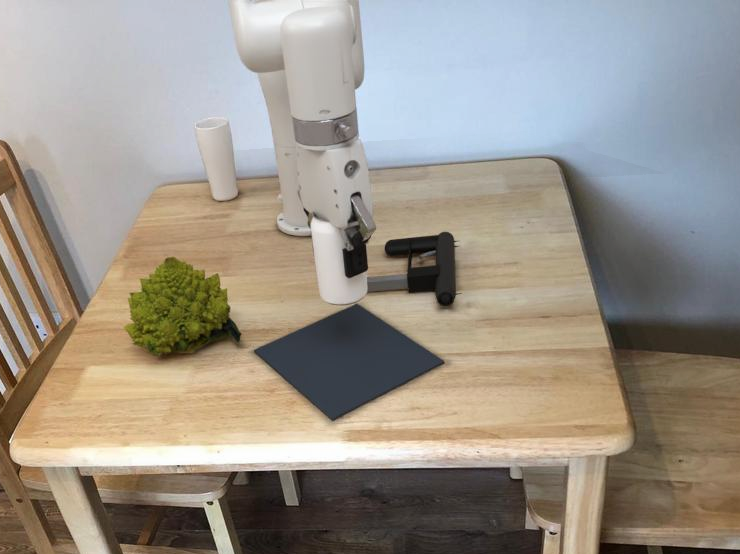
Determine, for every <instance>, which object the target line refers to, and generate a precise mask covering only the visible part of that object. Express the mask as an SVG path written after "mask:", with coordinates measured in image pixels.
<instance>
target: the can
mask: <svg viewBox="0 0 740 554" xmlns="http://www.w3.org/2000/svg"><path fill="white" fill-rule="evenodd" d="M312 215H313V219H312V221H311V234H312V238H311V243H312V242H313V246H312V250H313V249H314V253H313V257H314V264H315V272H316V278H317V286H318V293H319V296H320V298H321V300H322V301H324V302H325V303H326V304H329V305H331V306H338V307H339V306H341V307H342V306H351V305H355V304H357V303H358V302H360V301H361V300H363V299H364V298H365V296H367V293H368V292H367V291H368V287H367V277H368V276H367V275H368V274H367V271H366V272H363V273H361V274H359V275H357V276H354V277H352V278H347V277H346V276H345V269H344V259H343V250H342V249H344V248H346V247H345V244H344V241H343V238H342V235H341V232H340V229H339V228H338V227H336V226H333V225H332V224H330V221H329V220H324V219H322V218H320V217H318V216H317V215H314V212H312ZM351 221H354V218H353V216H351V217H350V219H348V223H349V222H351ZM348 230H349V233H350V236H351V238H352V237H353V235H354V234H355V233H357V230H356V227H355V226H354V227H351V228H349V229H348Z"/></svg>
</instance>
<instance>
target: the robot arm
mask: <svg viewBox="0 0 740 554" xmlns="http://www.w3.org/2000/svg"><path fill="white" fill-rule="evenodd" d="M254 1H255V2H253V1H252V0H227V2H228V3H227V4H228V8H229V9H228V10H229V14H230V15H229V16H230V21H231V27H232V32H233V39H234V43H235V47H236V51H237V54H238V57H239V59H240V61H241V63H242V64H243V66H244V67H245V69H248V71H250V72H253V73H256V74H257V78H258V81H259V85H260V88H261V92H262V96H263V98H264V102H265V106H266V110H267V114H268V120H269V125H270V129H271V137H272V142H273V149H274V155H275V162H276V169H277V175H278V181H279V183H278V184H279V189H280V193H279V194H278V196H277V198H278V200H279V201H281V202H282V208H283V209H282V210H283V211H281V212H280V213H279V215H277V218H276V224H277V228H278V230H279V231H281V232H283V233H284V234H287V235H290V236H295V237H311V239H312V234H311V221H312V219H313V215H312V212H314V215H317V216H318V217H320V218H322V219H324V220H329V221H330V224H332V225H333V226H336V227H338V228H339V229H340V232H341V235H342V238H343V241H344V244H345V247H346V248H344V249H342V250H343V259H344V269H345V276H346V277H347V278H352V277H354V276H357V275H359V274H361V273H363V272H366V273H367V271H368V270H369V262H368V251H367V245H368V244H369V241H370V239H371V238H372V235H373V234H374V233H375V232H376V230H377V225H376V222H375V221H374V219H373V218H374V215H375V213H374V200H373V191H372V184H371V178H370V171H369V166H368V161H367V157H366V153H365V149H364V145H363V142H362V140H361V139H360V138H359V137H360V132H359V131H360V130H359V121H358V120H359V119H358V107H357V99H356V97H357V96H356V90H358V89H360V87H361V85H362V84H363V82H364V78H365V55H364V44H363V43H364V42H363V33H362V21H361V13H360V1H359V0H254ZM351 216H353V218H354V221H351V222H349V223H348V219H350V217H351ZM354 226H355V227H356V230H357V233H355V234H354V235H353V237H352V238H351V236H350V233H349V230H348V229H349V228H351V227H354ZM311 245H312V247H313V242H312V241H311ZM312 252H313V254H314V249H313V248H312Z"/></svg>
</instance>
